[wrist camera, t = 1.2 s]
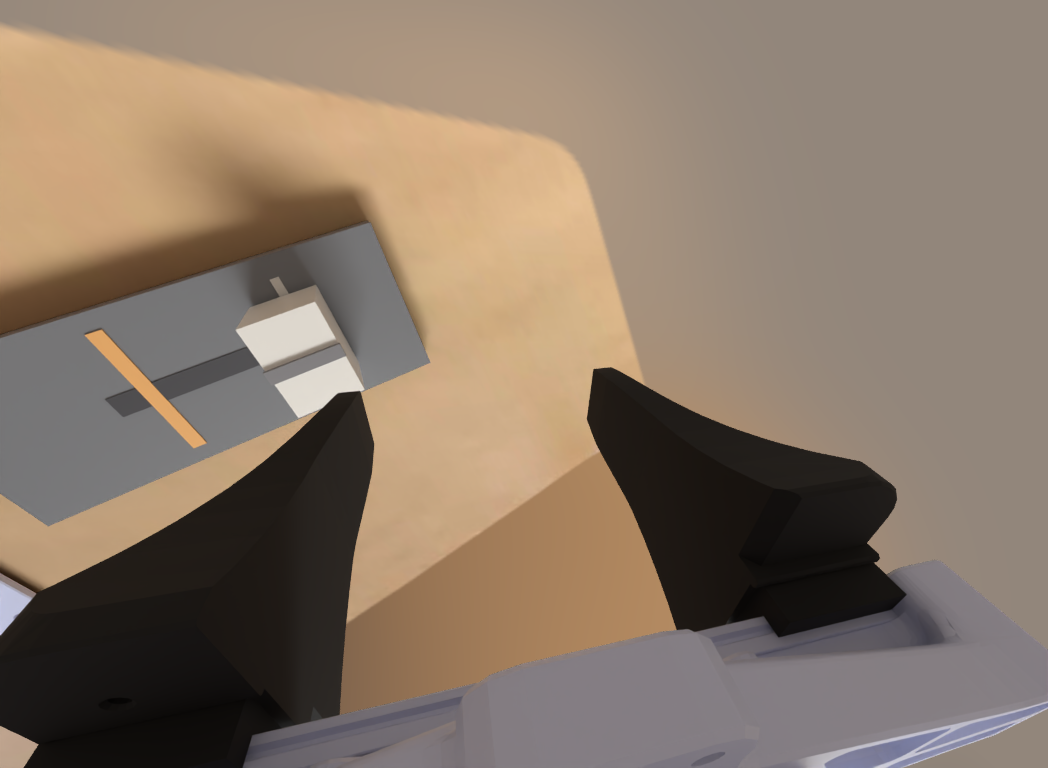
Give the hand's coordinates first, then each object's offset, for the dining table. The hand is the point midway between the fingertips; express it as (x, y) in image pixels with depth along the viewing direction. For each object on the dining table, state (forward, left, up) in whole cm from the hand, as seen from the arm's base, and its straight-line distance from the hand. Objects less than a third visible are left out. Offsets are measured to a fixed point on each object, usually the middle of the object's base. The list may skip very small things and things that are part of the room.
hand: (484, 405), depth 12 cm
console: (-10, +1, -13) cm, 16 cm away
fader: (-5, +1, -11) cm, 12 cm away
